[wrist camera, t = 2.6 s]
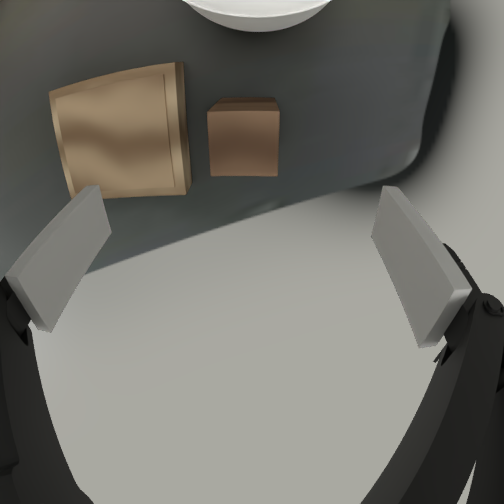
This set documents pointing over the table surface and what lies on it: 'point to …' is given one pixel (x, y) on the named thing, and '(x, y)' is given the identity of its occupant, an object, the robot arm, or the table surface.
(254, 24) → the jar
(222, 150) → the block
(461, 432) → the robot arm
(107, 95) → the base
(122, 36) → the table surface
